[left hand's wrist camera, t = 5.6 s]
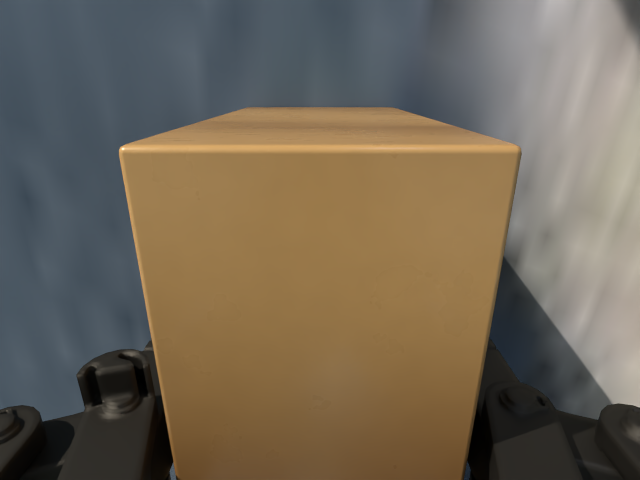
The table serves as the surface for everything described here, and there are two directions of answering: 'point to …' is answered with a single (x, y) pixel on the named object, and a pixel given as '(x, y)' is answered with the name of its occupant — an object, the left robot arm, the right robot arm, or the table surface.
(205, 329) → the bar
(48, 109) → the table surface
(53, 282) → the table surface
